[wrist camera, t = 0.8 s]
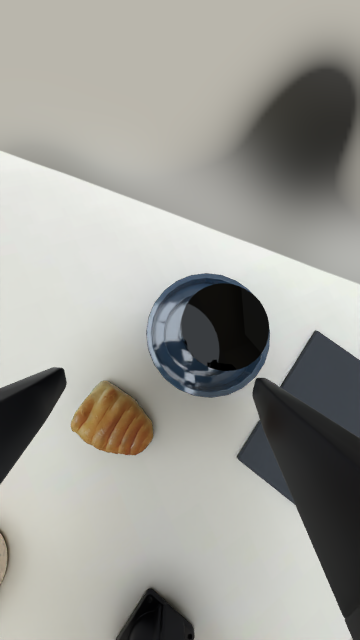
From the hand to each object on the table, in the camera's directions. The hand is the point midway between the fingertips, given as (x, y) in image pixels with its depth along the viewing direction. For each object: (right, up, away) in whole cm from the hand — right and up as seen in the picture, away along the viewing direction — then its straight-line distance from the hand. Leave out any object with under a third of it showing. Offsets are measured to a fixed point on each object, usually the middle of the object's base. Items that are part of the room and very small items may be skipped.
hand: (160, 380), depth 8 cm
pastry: (-7, -9, +14) cm, 18 cm away
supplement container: (+4, +1, +15) cm, 16 cm away
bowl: (+4, +1, +16) cm, 16 cm away
